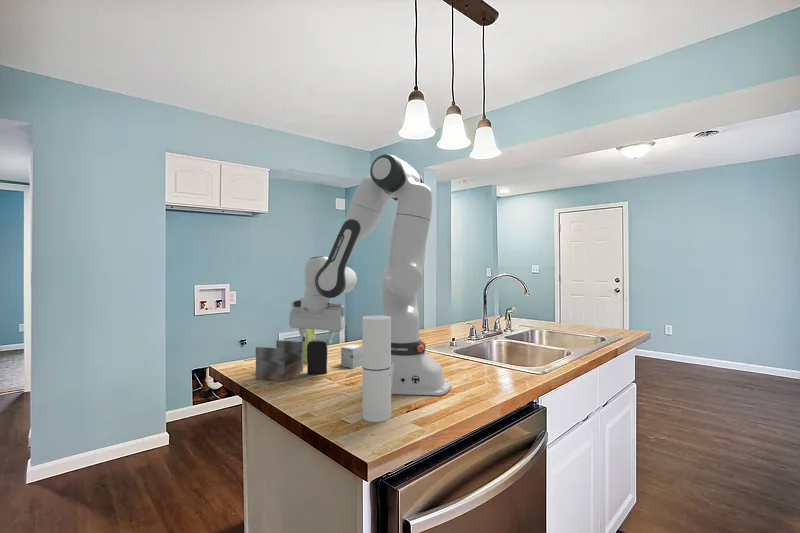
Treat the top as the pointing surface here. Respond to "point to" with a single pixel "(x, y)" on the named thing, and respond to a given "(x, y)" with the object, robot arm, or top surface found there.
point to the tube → (311, 336)
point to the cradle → (279, 361)
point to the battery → (317, 357)
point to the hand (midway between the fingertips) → (316, 342)
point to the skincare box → (351, 356)
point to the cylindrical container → (376, 367)
